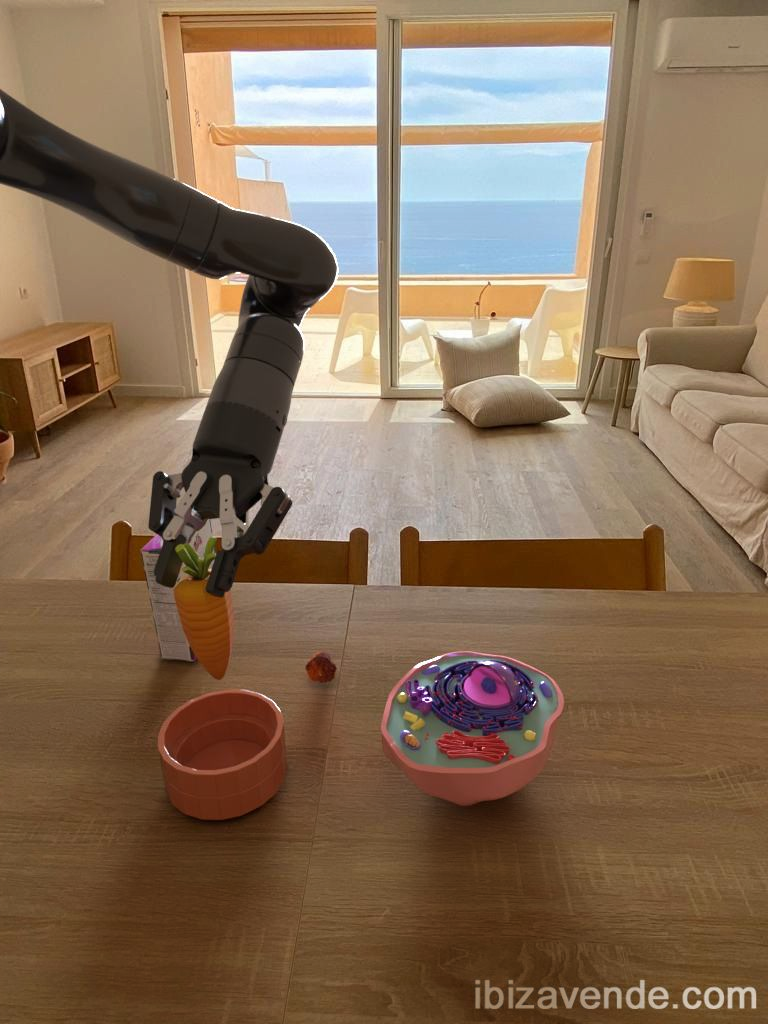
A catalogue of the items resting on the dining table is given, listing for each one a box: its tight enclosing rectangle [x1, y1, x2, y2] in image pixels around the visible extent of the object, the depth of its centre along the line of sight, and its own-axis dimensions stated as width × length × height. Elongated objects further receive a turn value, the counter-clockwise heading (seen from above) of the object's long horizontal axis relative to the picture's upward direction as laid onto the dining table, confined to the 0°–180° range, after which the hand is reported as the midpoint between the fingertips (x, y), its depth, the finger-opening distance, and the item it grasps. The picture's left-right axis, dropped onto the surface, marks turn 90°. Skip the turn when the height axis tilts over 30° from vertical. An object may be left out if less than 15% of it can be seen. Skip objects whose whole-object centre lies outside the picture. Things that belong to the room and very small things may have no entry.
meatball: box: [305, 651, 338, 683], centre depth 85 cm, size 4×4×4 cm
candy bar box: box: [139, 512, 216, 663], centre depth 92 cm, size 11×5×16 cm, turn 171°
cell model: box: [380, 650, 565, 807], centre depth 70 cm, size 17×20×11 cm
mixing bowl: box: [157, 689, 288, 821], centre depth 71 cm, size 12×12×6 cm
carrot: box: [174, 536, 235, 681], centre depth 64 cm, size 5×5×15 cm
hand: (189, 589), depth 61 cm, fingers closed on carrot, 4 cm apart
